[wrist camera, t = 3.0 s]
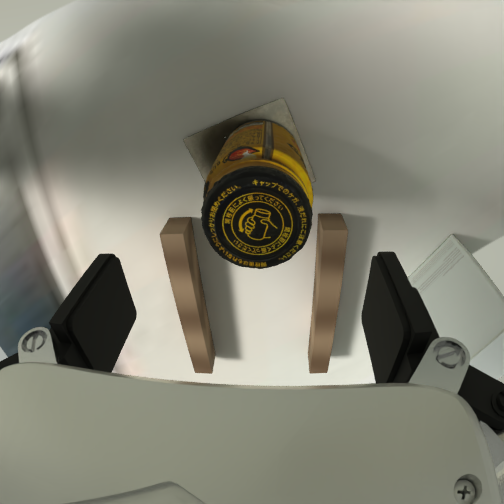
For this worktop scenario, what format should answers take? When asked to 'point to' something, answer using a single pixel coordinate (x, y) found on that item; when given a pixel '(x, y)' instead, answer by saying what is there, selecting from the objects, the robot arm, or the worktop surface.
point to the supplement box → (464, 304)
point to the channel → (193, 302)
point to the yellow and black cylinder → (255, 186)
